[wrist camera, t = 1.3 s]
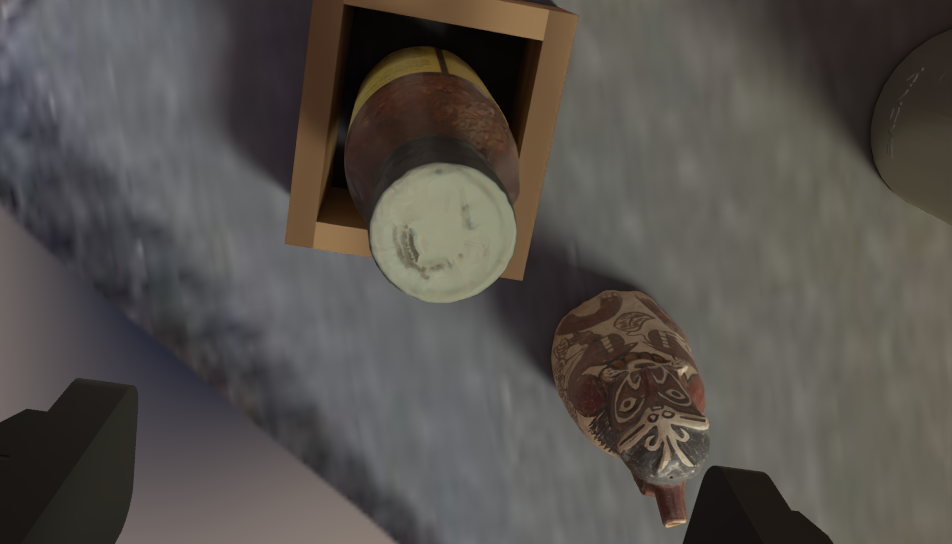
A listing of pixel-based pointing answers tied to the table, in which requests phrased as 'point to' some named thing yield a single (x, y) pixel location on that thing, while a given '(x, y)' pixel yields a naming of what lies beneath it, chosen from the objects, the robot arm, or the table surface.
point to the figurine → (635, 392)
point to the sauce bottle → (433, 175)
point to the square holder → (312, 198)
